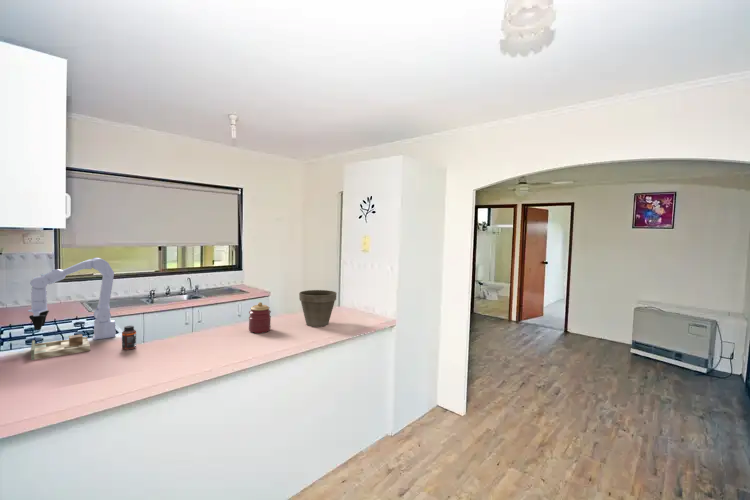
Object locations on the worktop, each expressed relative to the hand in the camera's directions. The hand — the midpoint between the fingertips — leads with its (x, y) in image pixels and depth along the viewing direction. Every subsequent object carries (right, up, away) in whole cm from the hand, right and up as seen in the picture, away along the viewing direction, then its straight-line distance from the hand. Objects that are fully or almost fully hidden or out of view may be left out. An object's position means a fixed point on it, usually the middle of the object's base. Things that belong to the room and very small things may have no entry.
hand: (39, 327), depth 178 cm
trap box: (+14, -11, -3) cm, 18 cm away
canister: (+97, -11, +41) cm, 106 cm away
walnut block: (+18, -8, 0) cm, 20 cm away
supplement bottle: (+43, -11, +2) cm, 45 cm away
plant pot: (+130, -11, +61) cm, 144 cm away
